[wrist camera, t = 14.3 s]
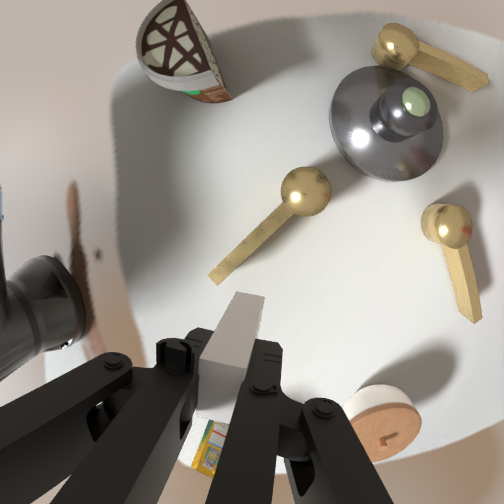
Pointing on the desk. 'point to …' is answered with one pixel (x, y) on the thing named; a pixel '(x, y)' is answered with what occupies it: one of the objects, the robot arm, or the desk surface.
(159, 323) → the desk surface
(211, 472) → the crayon box
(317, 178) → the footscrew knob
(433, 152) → the base
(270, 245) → the desk surface
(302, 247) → the desk surface
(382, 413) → the lidded jar
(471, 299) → the gold lever handle
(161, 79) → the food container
